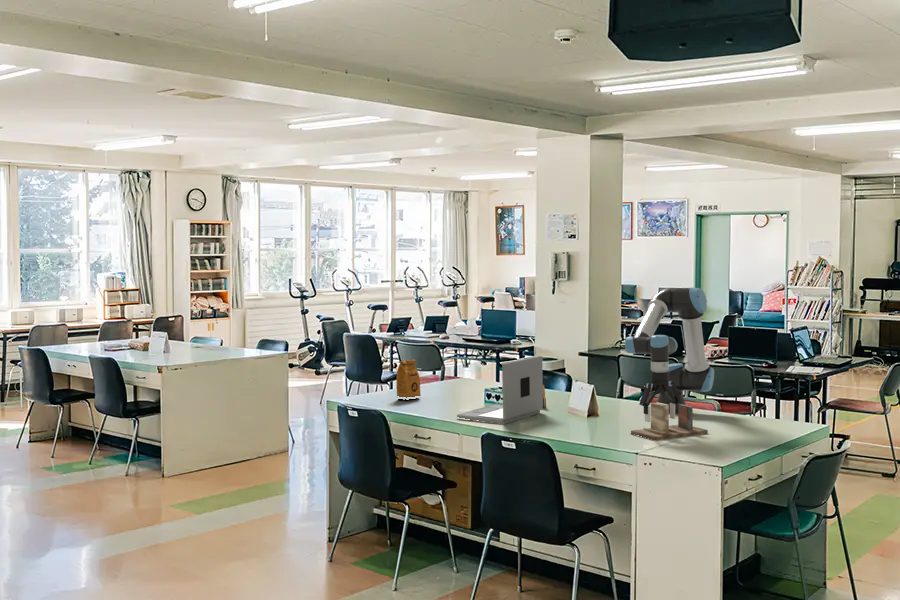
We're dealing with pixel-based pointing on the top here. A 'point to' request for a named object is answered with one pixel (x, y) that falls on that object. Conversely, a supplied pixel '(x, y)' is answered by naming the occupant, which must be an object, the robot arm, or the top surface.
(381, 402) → the top surface
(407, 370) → the coffee package
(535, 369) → the laptop
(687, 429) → the rail
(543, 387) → the ammunition clip
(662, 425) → the maple finger
